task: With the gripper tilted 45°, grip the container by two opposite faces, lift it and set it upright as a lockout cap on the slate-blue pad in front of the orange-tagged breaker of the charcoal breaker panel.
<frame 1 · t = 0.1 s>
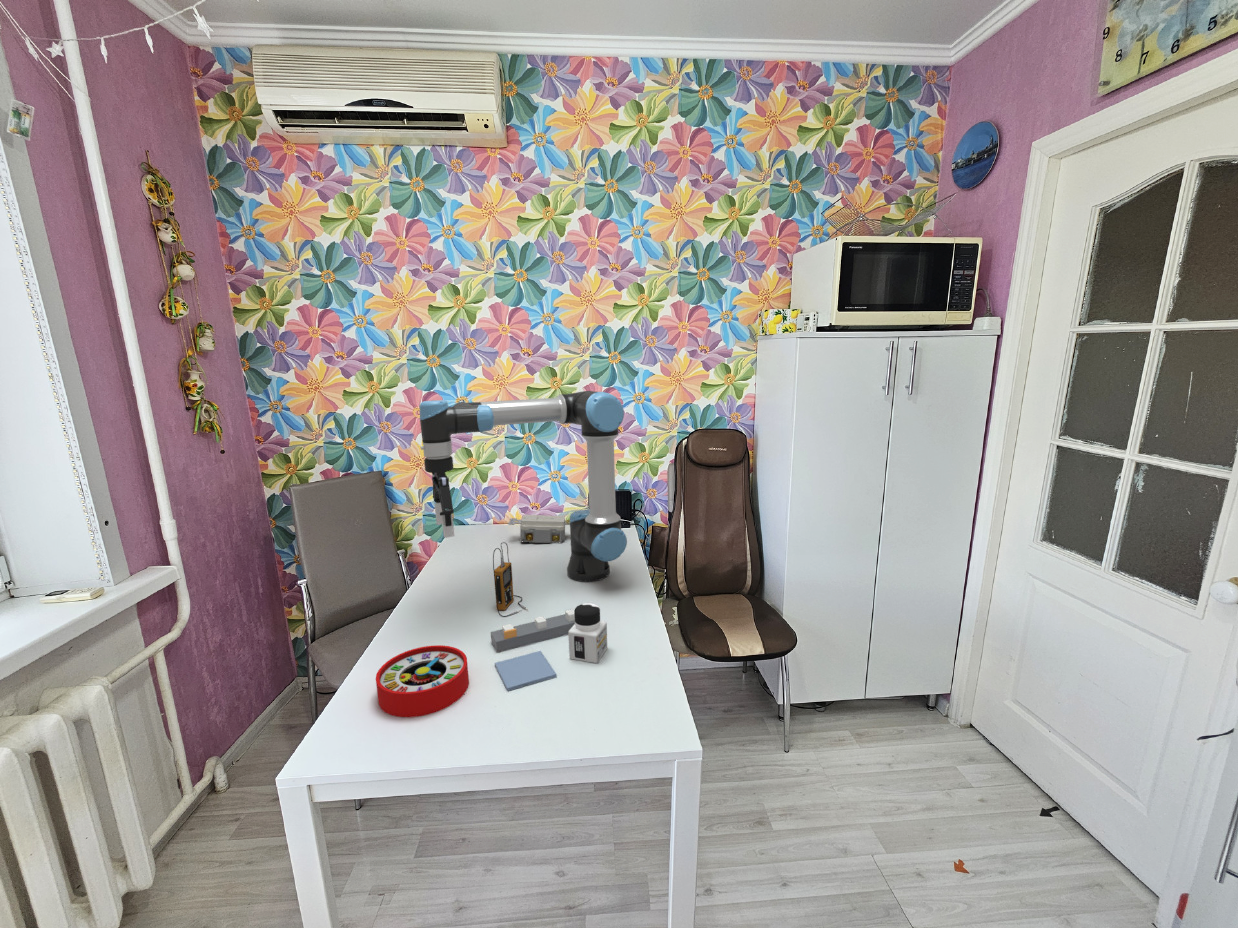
hand: (445, 530, 154), 28 cm above the table, tool pointing down, fingers open, 13 cm apart
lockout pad: (525, 671, 133), on the table
toy clock: (425, 691, 126), on the table
breaker panel: (540, 635, 150), on the table
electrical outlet: (544, 540, 229), on the table
container: (588, 654, 140), on the table
multimeter: (516, 607, 168), on the table
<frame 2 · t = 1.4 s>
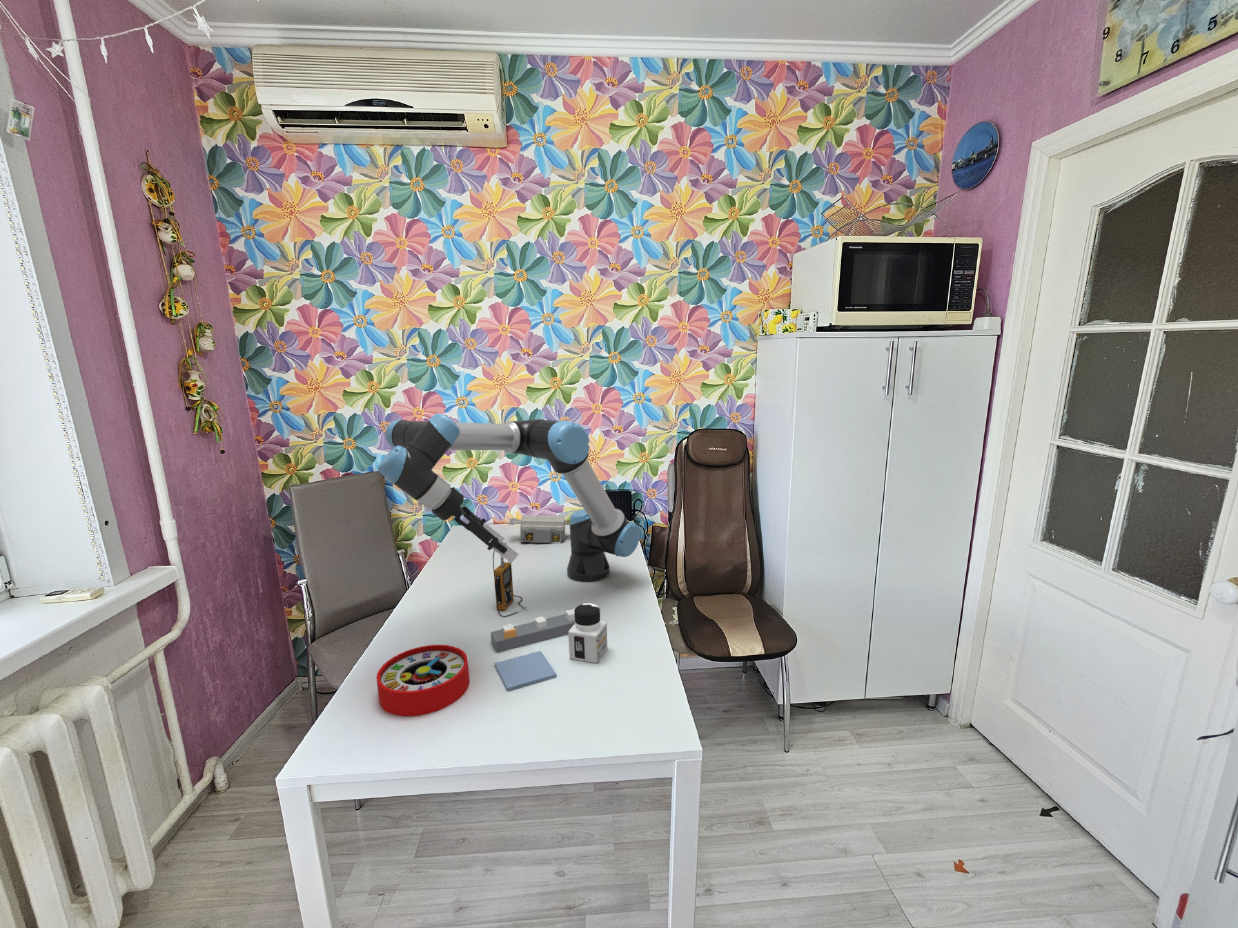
hand: (507, 549, 136), 28 cm above the table, tool tilted 45°, fingers open, 13 cm apart
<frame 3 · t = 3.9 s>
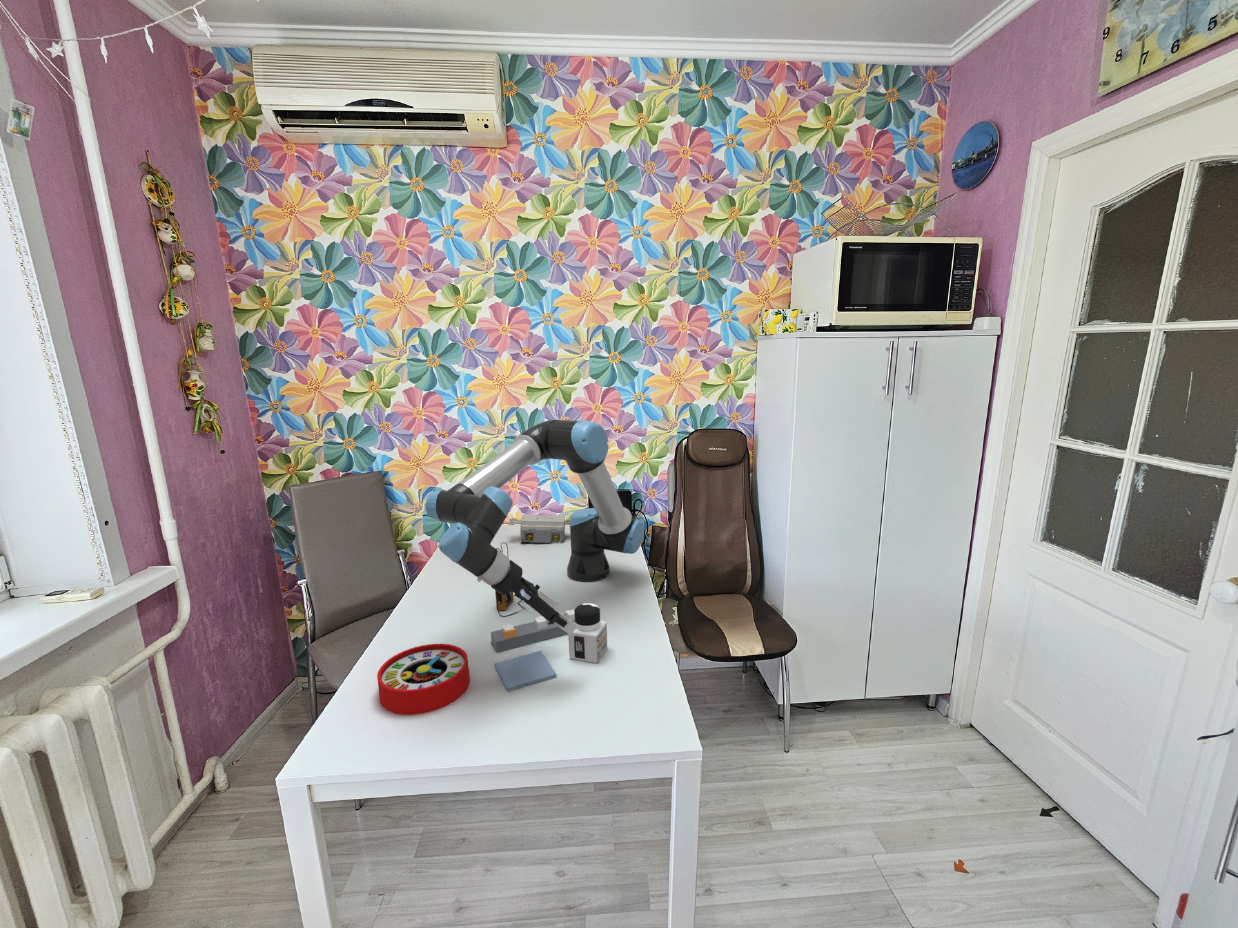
hand: (563, 618, 134), 12 cm above the table, tool tilted 45°, fingers open, 13 cm apart
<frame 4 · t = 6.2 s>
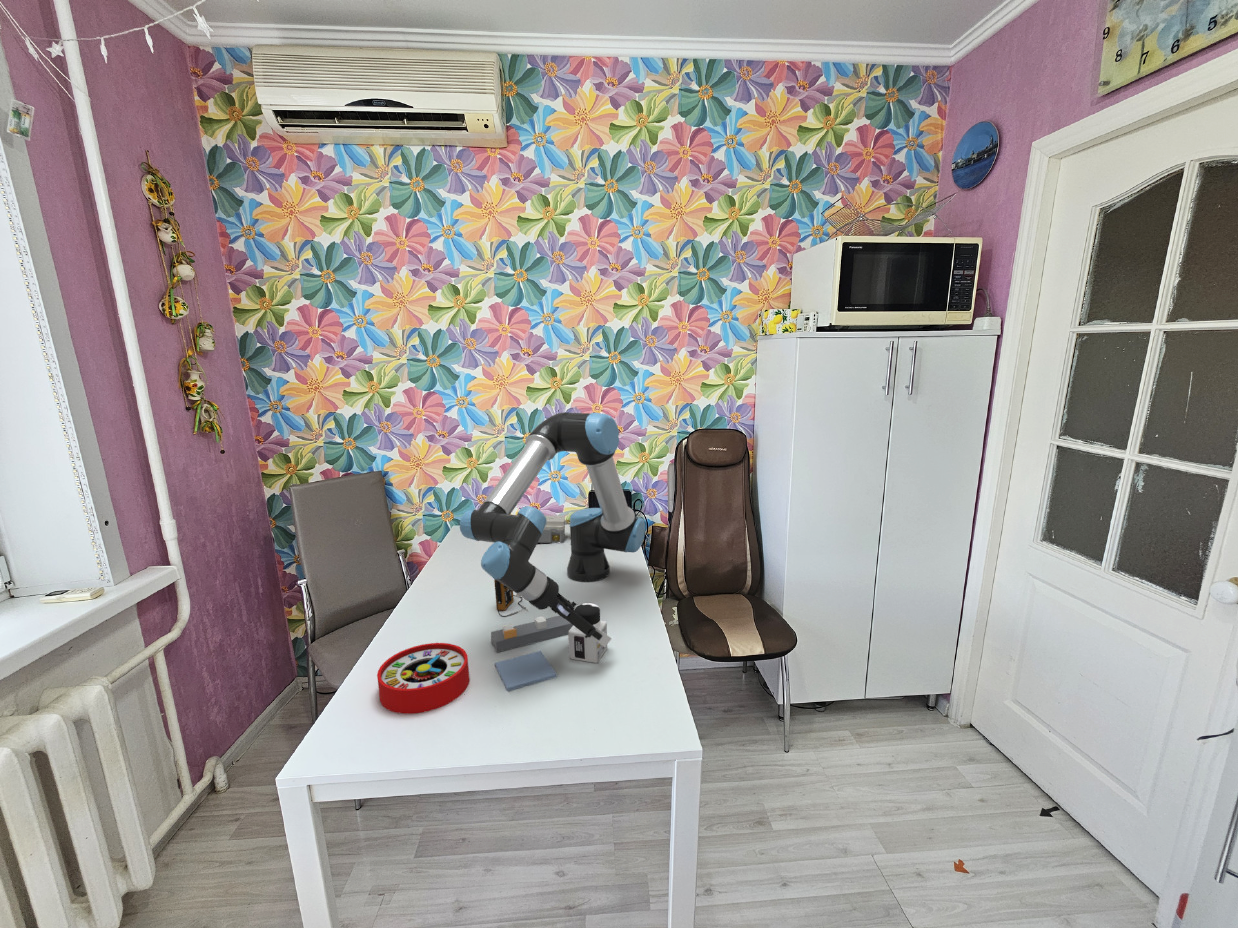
hand: (598, 632, 140), 5 cm above the table, tool tilted 45°, fingers closed on container, 10 cm apart
container: (588, 654, 140), on the table, touching gripper
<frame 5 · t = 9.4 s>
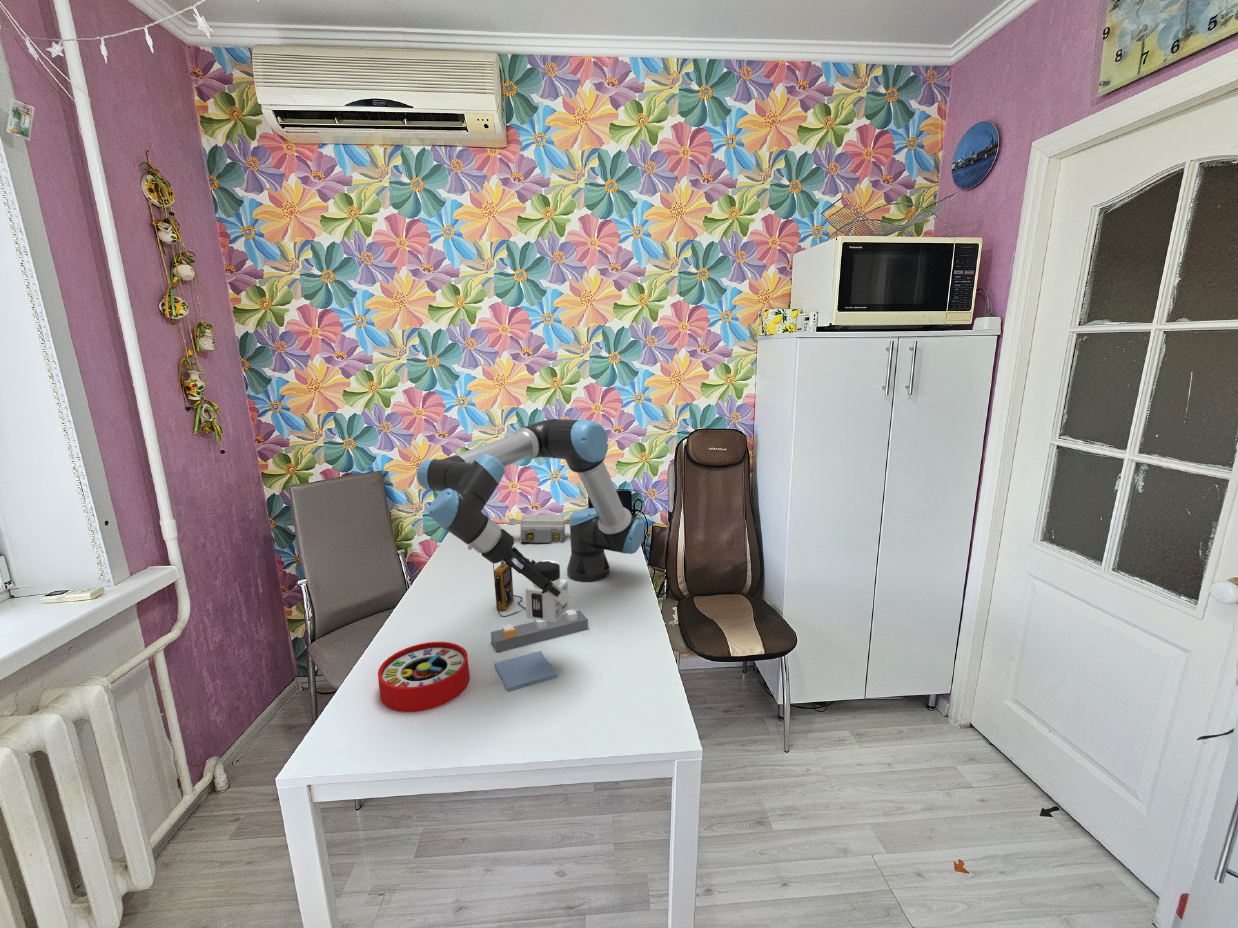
hand: (558, 591, 132), 19 cm above the table, tool tilted 45°, fingers closed on container, 10 cm apart
container: (548, 614, 132), point 14 cm above the table, touching gripper
when the fingers open (7 cm above the table, at t = 12.6 s): container drops 1 cm, resting on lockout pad.
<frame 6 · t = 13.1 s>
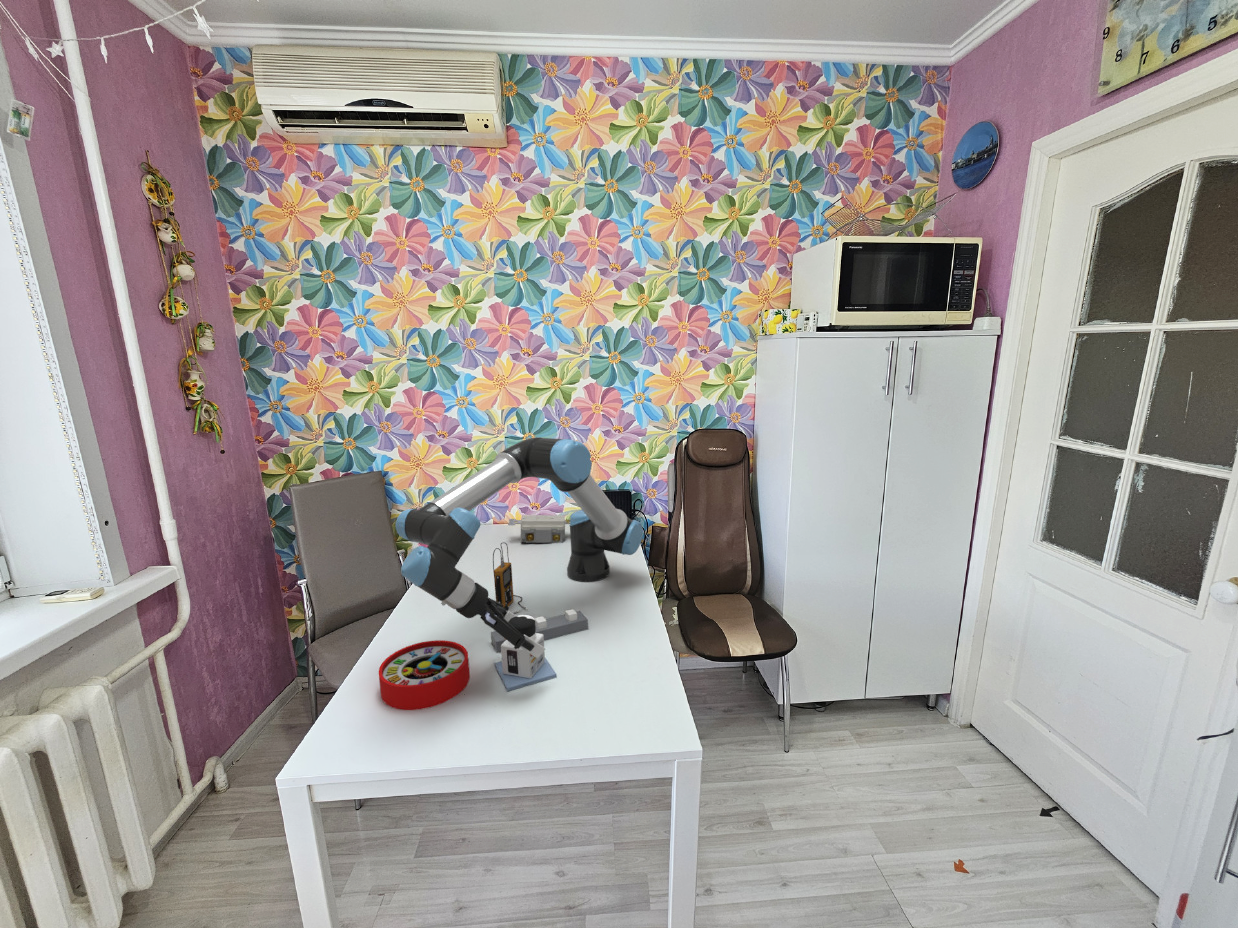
hand: (532, 640, 132), 8 cm above the table, tool tilted 45°, fingers open, 13 cm apart
container: (524, 668, 133), point 1 cm above the table, touching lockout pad
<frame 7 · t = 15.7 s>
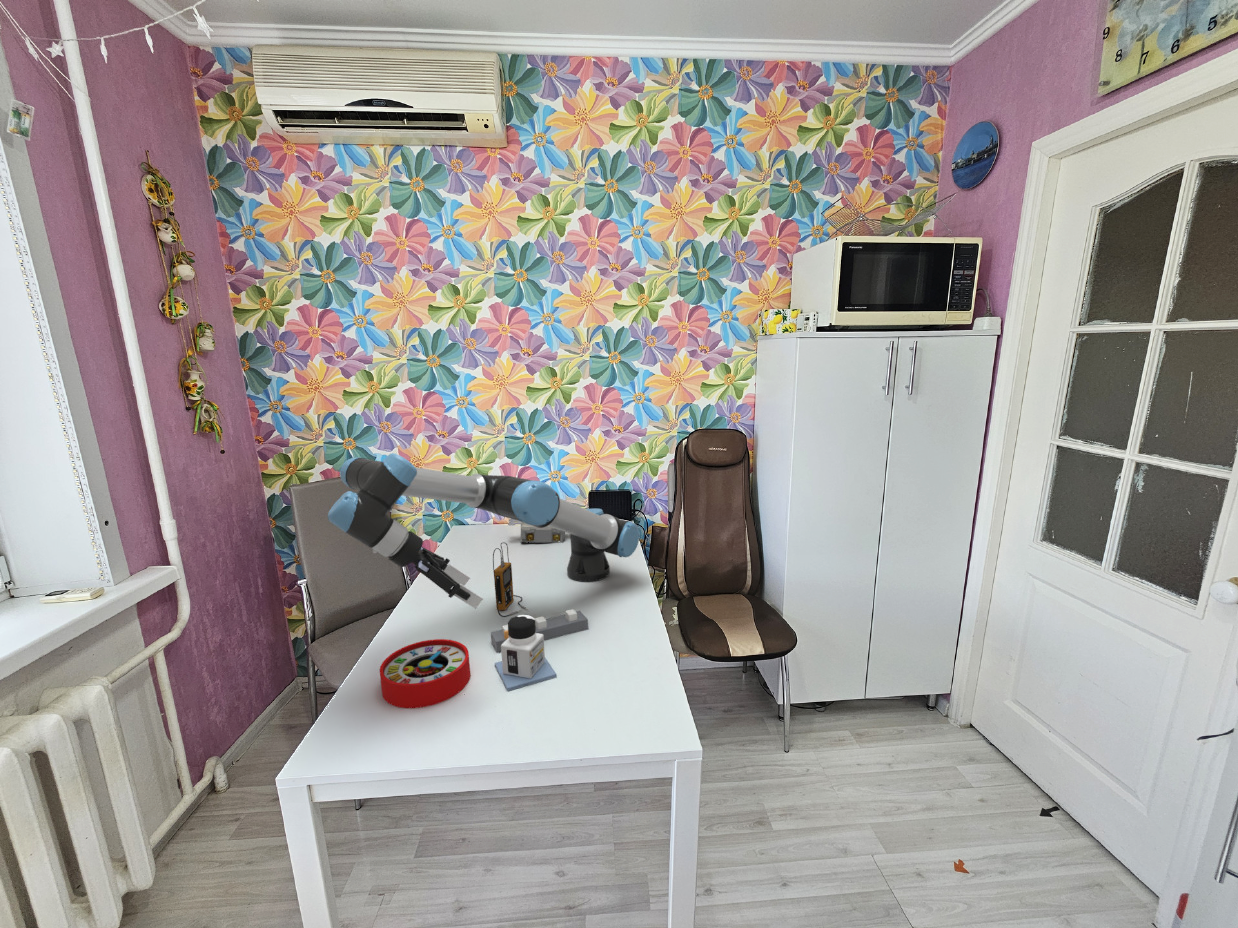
hand: (472, 592, 129), 21 cm above the table, tool tilted 45°, fingers open, 13 cm apart
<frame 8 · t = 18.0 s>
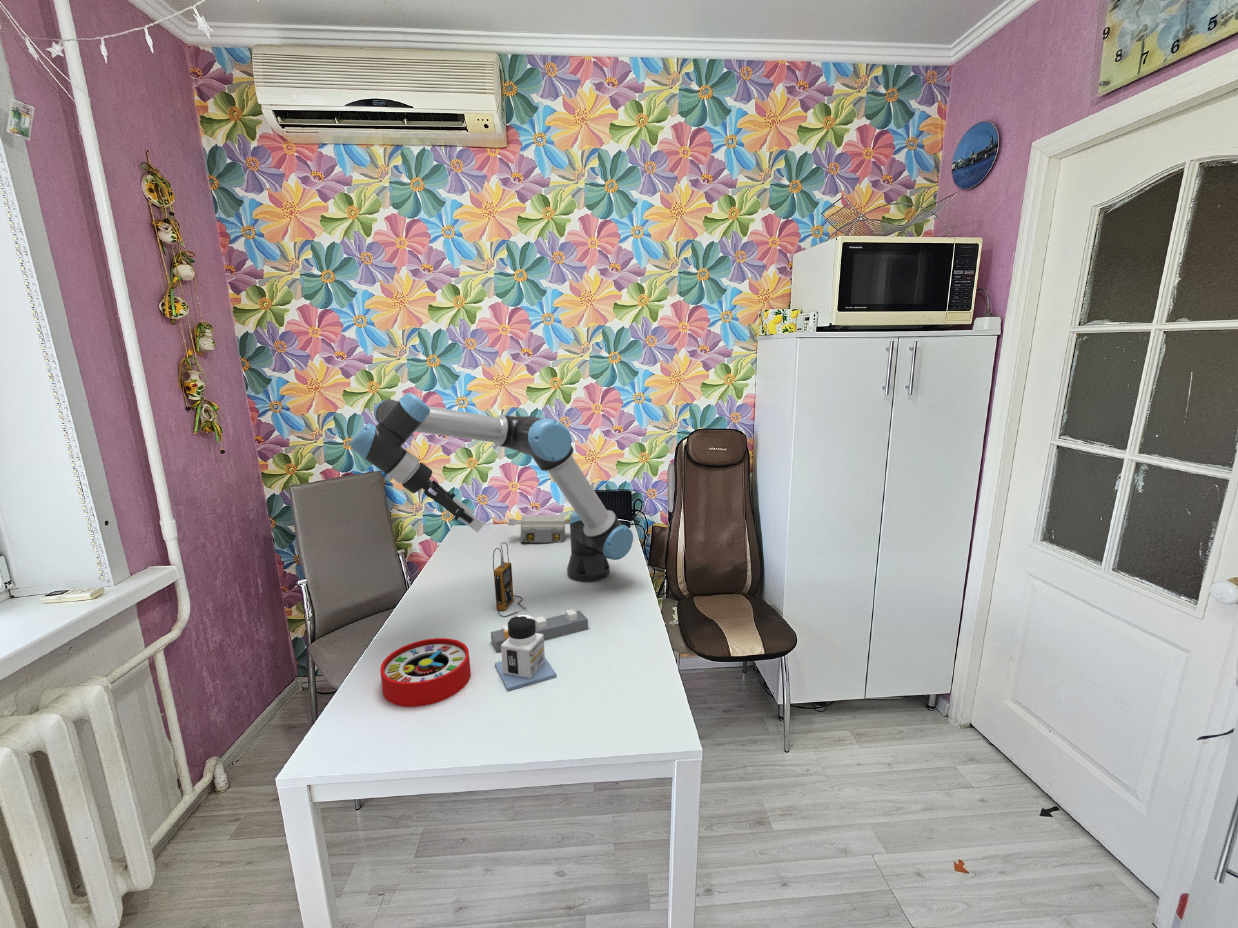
hand: (475, 521, 146), 33 cm above the table, tool tilted 45°, fingers open, 13 cm apart
at the end: container inside the target area on the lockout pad (0.2 cm from its centre), point 0.6 cm above the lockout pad's base; container tilted 0°; the gripper is holding nothing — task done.
